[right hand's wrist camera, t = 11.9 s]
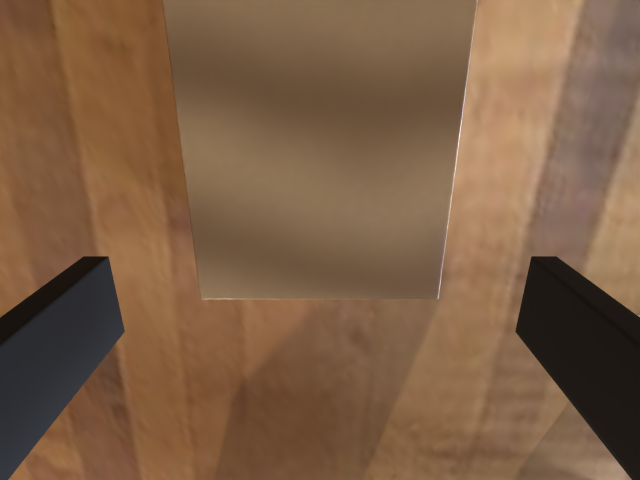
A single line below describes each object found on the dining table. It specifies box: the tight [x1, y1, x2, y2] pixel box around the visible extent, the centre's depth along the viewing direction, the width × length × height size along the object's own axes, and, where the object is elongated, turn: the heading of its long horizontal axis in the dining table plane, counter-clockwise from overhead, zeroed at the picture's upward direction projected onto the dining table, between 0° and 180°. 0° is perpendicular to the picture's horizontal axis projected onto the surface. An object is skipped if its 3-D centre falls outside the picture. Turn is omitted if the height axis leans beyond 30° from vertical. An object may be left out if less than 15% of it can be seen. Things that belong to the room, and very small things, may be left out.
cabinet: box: [162, 0, 478, 299], centre depth 19 cm, size 19×11×9 cm, turn 0°
